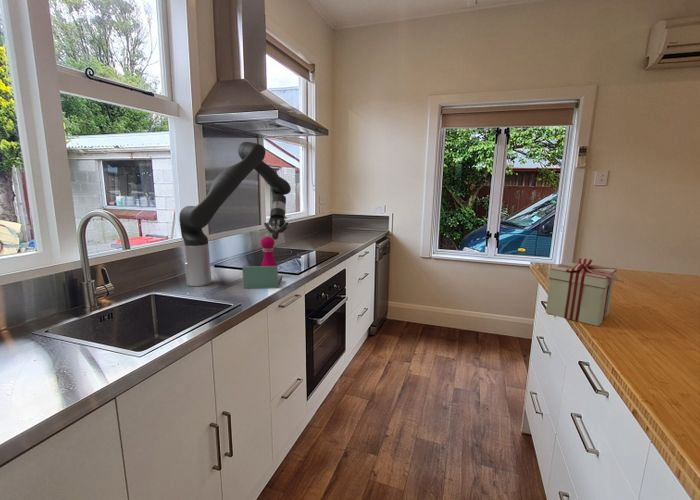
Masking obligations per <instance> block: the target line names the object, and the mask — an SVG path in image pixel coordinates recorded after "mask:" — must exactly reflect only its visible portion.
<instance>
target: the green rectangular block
mask: <svg viewBox="0 0 700 500" xmlns="http://www.w3.org/2000/svg"><path fill="white" fill-rule="evenodd" d="M241 269H242V271H241V272H242V280H243V281H242V282H243V289H278V288H279V287H280V286H281V284H282V282H283V276H282V275H279V271H278V265H277V266H261V265H257V266H256V265H253V266H252V265H251V266H249V265H248V266H242V267H241Z"/></svg>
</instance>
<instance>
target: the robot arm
mask: <svg viewBox="0 0 700 500" xmlns="http://www.w3.org/2000/svg"><path fill="white" fill-rule="evenodd" d="M237 150H238V151H237V152H238V156H239V158H240V159H241V160H240V161H238V162H236V163H235V164H233V165H231V166H228V167H227V168H225V169H223V170H222V171H221V172H220V173H219V174H218V175H217V176H216V177H215V178H214V179H213V181H212V182H211V184H210V187H209V190H208V193H207V195H206V196H205V198H203V199H202V200H201V202H199V203H198V204H197V205H186V206H184V207H183V208H182V209H181V210H180V212H179V216H178V219H179V228H180V233H181V235H180V236H181V238H182V240H183V242H184V250H185V260H186V261H185V263H184V270H185V281H186V286H190V287H201V286H208V285H210V284H212V281H213V280H212V271H211V269H212V268H211V257H210V247H209V239H208V236H207V235H206V234H205V233H204V231H203V229H204V228H205V227H206V226H208V225H209V223H210V222H211V220H212V219H213V217H214V216H215V215H216V213H217V211H218V210H219V209H220V207H221V206H222V205H223V204H224V203H225V202H226V201H227V199H228V198H229V197H230V196H231V195H232V194H233V193H234V192H235V190H236V189H238V187H239V186H240V184H241V183H242V182H243V181H244V180H245V179H246V178H247V176H249V174H250V173H251V172H252V171H255V172H256V173H258V174H259V176H260V177H261V178H262V179H264V181H265V182H266V183H267V185H268V186H269V187H270V191H271V192H270V193H271V195H272V202H271V203H272V205H271V207H270V215H269V219H268V222H264V228H265V229H266V231H268V232H269V234H271V235H272V236H271V238H273V240H274V241H275V240H276V241H277V239H279V235H280V234H282V233H284V232H285V231H286V230H287V229H288V228H289V227H290V224H289V222H288V221H287V222H286V212H287V211H286V209H287V208H286V205H287V198H286V196H285V195H289V193H291V190H292V189H291V188H292V187H291V185H290V183H289V182H288V181H287V180H286V179H284V178H283V177H281V176H280V175H279V174H278V173H277V172H276V171H275V170H274V168H273V167H271V166H270V165H269V164H267V163H266V162H264V161H263V160H264V159H265V157H266V149H265V147H264V145H262V144H260V143H257V142H250V141H243V142H241V143H240V144H239V146H238V149H237Z"/></svg>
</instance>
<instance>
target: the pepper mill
mask: <svg viewBox="0 0 700 500" xmlns="http://www.w3.org/2000/svg"><path fill="white" fill-rule="evenodd" d="M275 243H276V242H275V240H274V239H273V238H272V236H271V237H270V233H266V234H265V235H264V237H263V238H261V241H260V245H261V247H262V252H263V259H262V262H261V265H260V266H277V267H278V265H277V262H276V259H275V258H274V251H275V250H274V246H275Z"/></svg>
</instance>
